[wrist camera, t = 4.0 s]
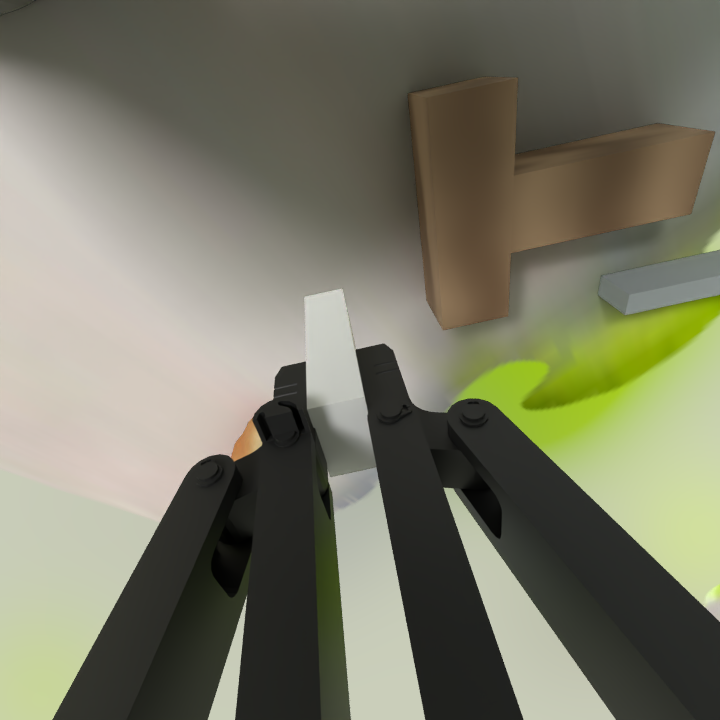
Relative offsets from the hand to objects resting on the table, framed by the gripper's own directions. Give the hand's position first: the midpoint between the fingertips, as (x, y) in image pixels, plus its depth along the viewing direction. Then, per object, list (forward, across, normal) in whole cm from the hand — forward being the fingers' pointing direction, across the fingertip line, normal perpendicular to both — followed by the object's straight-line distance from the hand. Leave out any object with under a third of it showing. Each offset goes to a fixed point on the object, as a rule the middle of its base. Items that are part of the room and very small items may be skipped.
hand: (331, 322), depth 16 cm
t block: (+10, +13, 0) cm, 17 cm away
